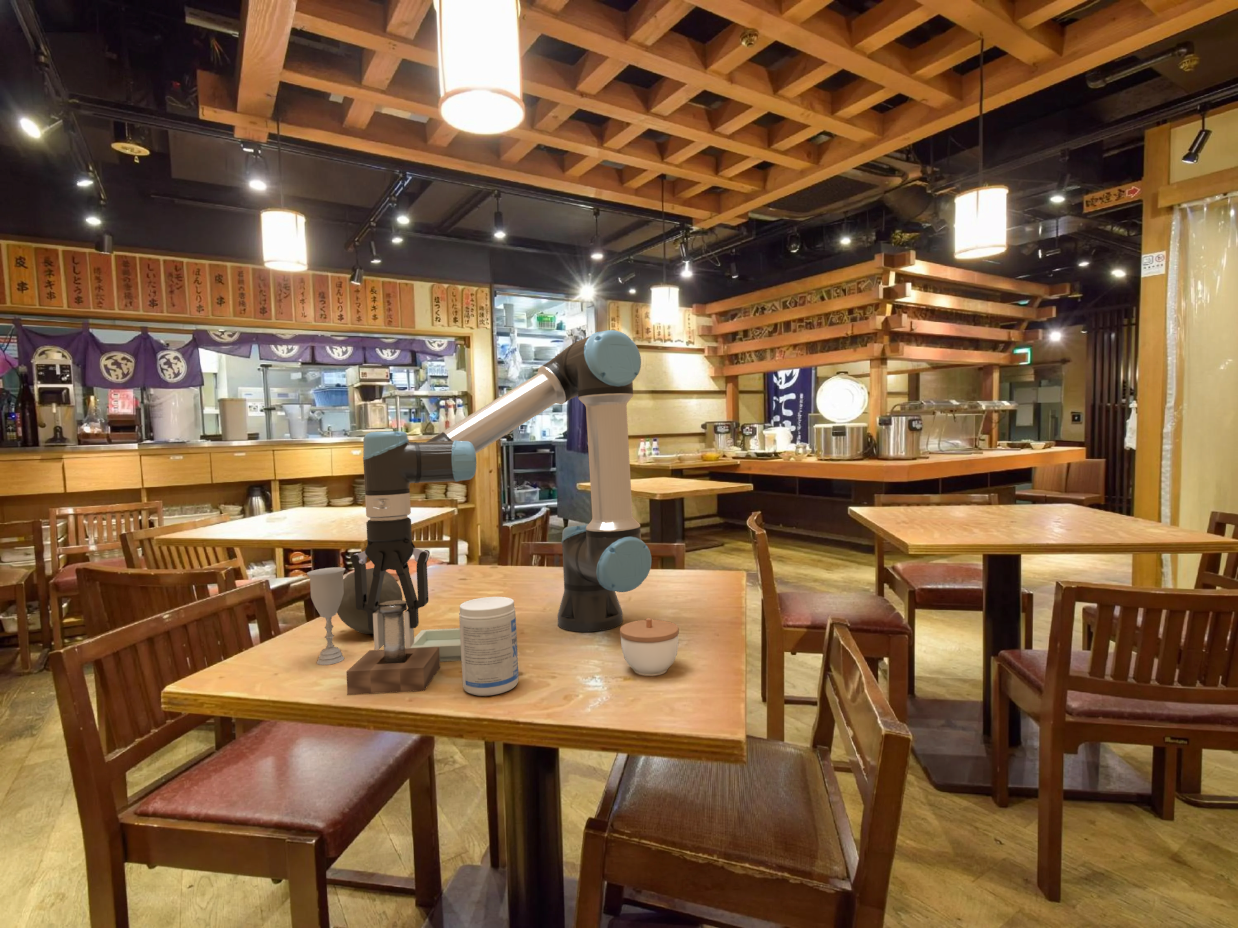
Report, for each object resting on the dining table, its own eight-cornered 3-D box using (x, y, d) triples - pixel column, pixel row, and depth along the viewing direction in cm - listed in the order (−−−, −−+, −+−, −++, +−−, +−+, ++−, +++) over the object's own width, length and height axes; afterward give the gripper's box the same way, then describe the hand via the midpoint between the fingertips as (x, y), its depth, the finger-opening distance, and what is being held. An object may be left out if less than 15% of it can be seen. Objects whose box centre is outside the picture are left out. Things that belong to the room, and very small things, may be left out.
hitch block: (440, 667, 117) (439, 646, 117) (424, 690, 106) (423, 667, 106) (370, 671, 116) (369, 650, 116) (347, 694, 105) (346, 671, 105)
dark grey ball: (372, 622, 150) (369, 561, 149) (417, 628, 144) (414, 564, 143) (322, 640, 137) (319, 573, 137) (369, 647, 131) (366, 577, 131)
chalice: (333, 667, 119) (329, 574, 119) (302, 666, 120) (298, 574, 120) (357, 654, 126) (353, 567, 126) (327, 653, 128) (323, 567, 127)
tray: (488, 640, 133) (487, 626, 133) (477, 659, 121) (477, 644, 121) (422, 643, 132) (421, 629, 132) (405, 663, 120) (404, 647, 120)
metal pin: (413, 674, 114) (410, 599, 113) (405, 684, 109) (402, 606, 108) (387, 676, 113) (383, 600, 113) (378, 686, 109) (374, 607, 108)
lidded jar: (611, 665, 115) (610, 616, 115) (662, 656, 119) (661, 608, 119) (636, 685, 105) (635, 630, 105) (691, 673, 109) (689, 621, 109)
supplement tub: (528, 688, 105) (524, 602, 105) (475, 702, 100) (471, 613, 100) (504, 672, 113) (501, 593, 113) (454, 685, 108) (450, 601, 108)
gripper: (329, 522, 106) (335, 655, 107) (433, 518, 107) (439, 650, 108) (346, 517, 114) (352, 642, 114) (444, 513, 114) (449, 637, 115)
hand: (394, 646), depth 111 cm, fingers closed on metal pin, 5 cm apart
